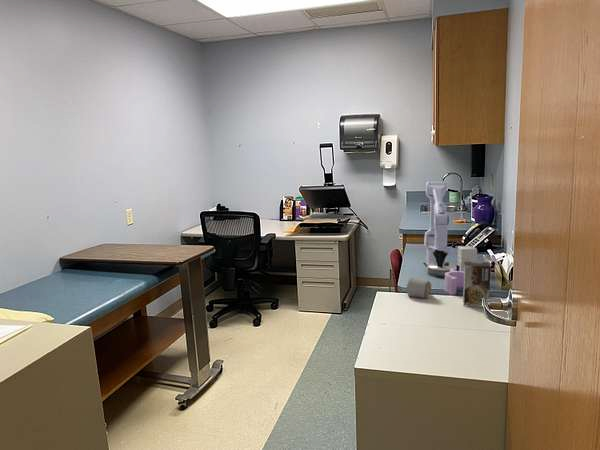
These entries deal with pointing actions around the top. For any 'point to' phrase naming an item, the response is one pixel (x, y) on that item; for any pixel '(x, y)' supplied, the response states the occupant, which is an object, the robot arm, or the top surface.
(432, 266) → the cooker lid
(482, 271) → the coffee box
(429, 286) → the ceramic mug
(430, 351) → the top surface
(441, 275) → the cooker pot
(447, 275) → the pink rounded block
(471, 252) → the supplement box
